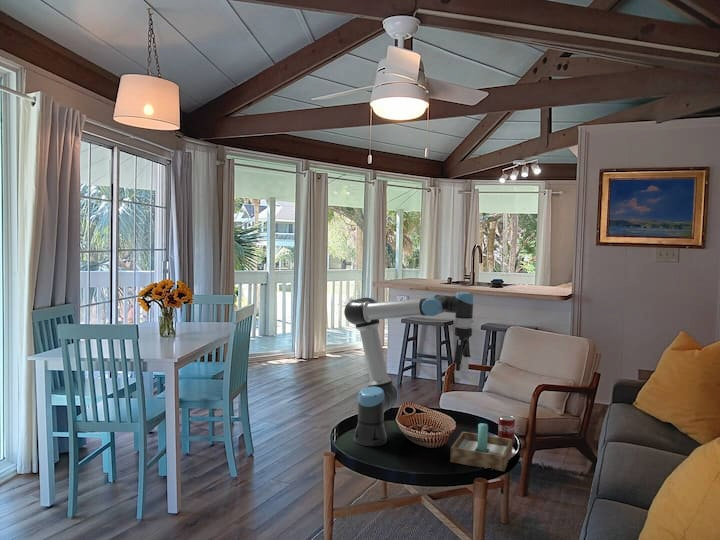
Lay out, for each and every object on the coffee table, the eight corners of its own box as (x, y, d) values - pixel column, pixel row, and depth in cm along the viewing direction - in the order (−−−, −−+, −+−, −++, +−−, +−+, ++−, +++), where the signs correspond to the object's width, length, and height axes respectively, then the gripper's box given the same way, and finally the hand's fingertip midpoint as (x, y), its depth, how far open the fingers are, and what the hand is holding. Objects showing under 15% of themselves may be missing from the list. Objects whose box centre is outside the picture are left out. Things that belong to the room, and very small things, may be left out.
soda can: (514, 447, 250) (515, 421, 249) (498, 445, 251) (499, 419, 250) (513, 441, 257) (514, 416, 256) (497, 440, 258) (498, 414, 258)
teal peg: (476, 458, 236) (477, 425, 235) (478, 454, 240) (479, 422, 239) (485, 459, 235) (487, 427, 234) (487, 456, 238) (488, 424, 238)
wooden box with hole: (450, 461, 231) (450, 447, 231) (461, 444, 252) (462, 431, 251) (504, 471, 223) (504, 456, 223) (511, 452, 243) (512, 439, 243)
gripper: (465, 331, 234) (463, 381, 235) (477, 324, 257) (475, 369, 258) (448, 330, 237) (446, 379, 238) (461, 322, 260) (459, 367, 261)
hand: (461, 374), depth 248 cm, fingers open, 13 cm apart
